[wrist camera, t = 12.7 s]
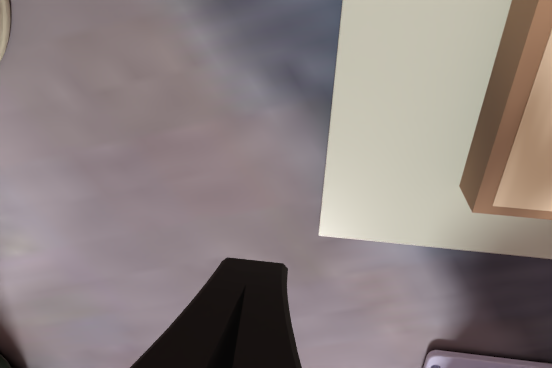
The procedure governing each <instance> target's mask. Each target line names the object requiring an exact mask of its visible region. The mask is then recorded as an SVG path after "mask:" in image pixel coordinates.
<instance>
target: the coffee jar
mask: <svg viewBox="0 0 552 368" xmlns="http://www.w3.org/2000/svg"><path fill="white" fill-rule="evenodd" d="M0 368H12V367H11V366H10V365H9V363H8V362H7V360H6V359H5V358H4V357H3V356H2V355H1V354H0Z"/></svg>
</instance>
